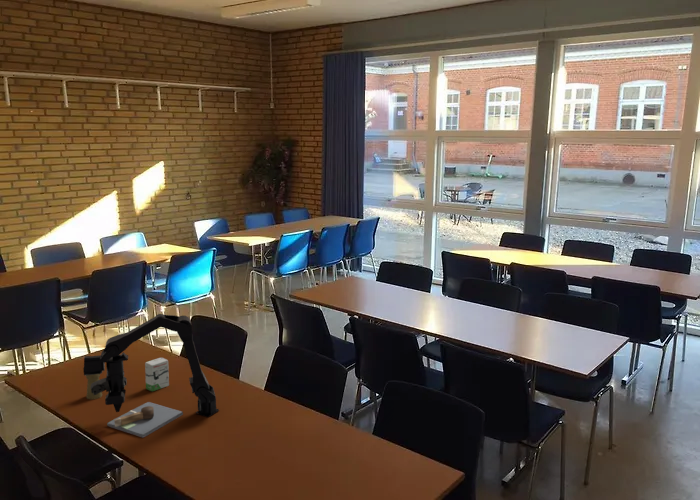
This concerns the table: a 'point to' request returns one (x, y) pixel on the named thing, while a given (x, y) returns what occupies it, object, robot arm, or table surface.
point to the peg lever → (136, 416)
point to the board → (148, 420)
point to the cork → (90, 380)
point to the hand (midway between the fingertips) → (117, 411)
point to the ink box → (156, 374)
